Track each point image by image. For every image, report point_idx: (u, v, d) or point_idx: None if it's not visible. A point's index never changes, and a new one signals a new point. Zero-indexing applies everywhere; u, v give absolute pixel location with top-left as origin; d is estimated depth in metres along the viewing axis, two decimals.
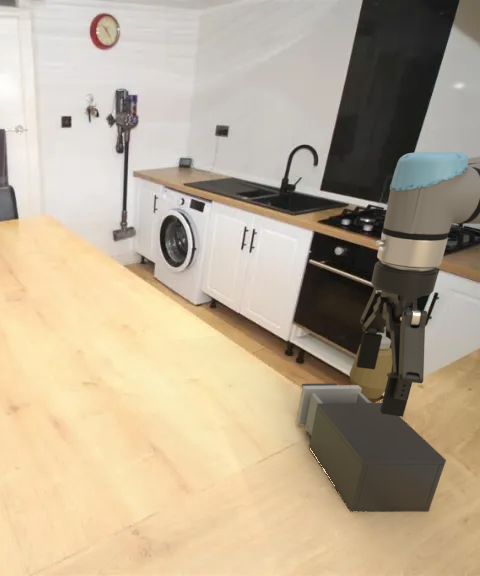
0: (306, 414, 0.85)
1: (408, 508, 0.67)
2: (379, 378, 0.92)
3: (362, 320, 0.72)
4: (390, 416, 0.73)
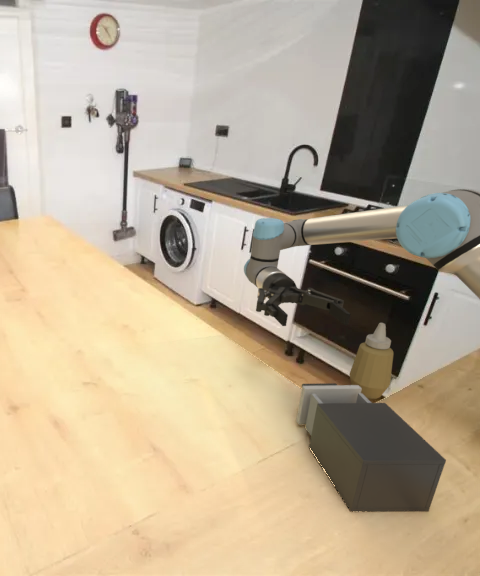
0: (306, 414, 0.85)
1: (408, 508, 0.67)
2: (379, 378, 0.92)
3: None
4: (390, 416, 0.73)
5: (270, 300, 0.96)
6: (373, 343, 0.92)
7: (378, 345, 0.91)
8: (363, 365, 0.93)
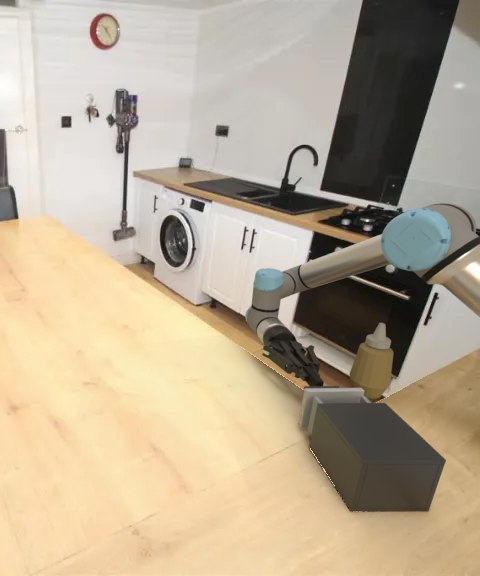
0: (308, 417, 0.84)
1: (408, 508, 0.67)
2: (379, 378, 0.92)
3: None
4: (390, 416, 0.73)
5: (296, 361, 0.96)
6: (373, 343, 0.92)
7: (378, 345, 0.91)
8: (363, 365, 0.93)
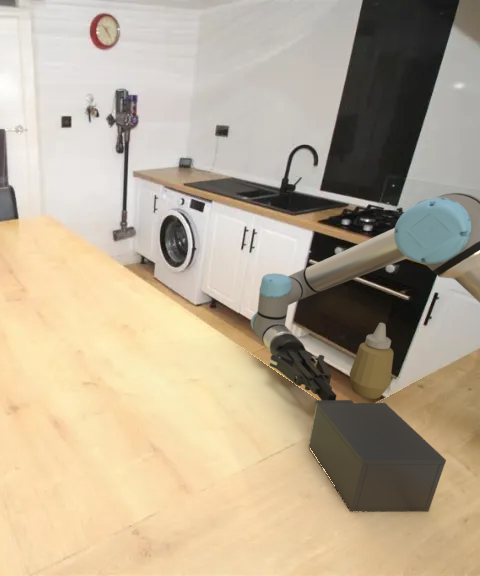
0: None
1: (408, 508, 0.67)
2: (379, 378, 0.92)
3: None
4: (390, 416, 0.73)
5: (305, 372, 0.91)
6: (373, 343, 0.92)
7: (378, 345, 0.91)
8: (363, 365, 0.93)
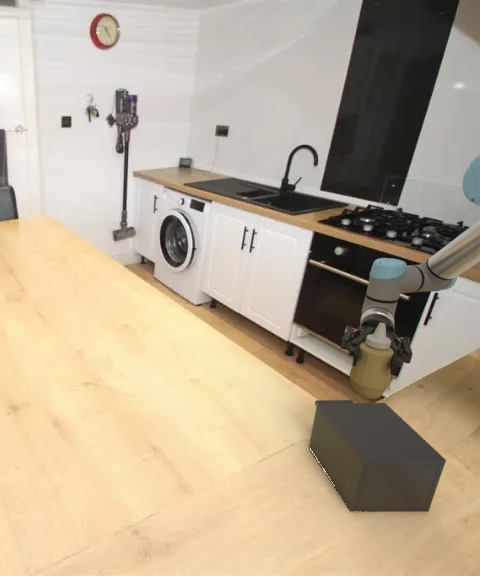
0: None
1: (408, 508, 0.67)
2: (379, 378, 0.92)
3: None
4: (390, 416, 0.73)
5: (356, 340, 0.99)
6: (373, 343, 0.92)
7: (378, 345, 0.91)
8: (363, 365, 0.93)
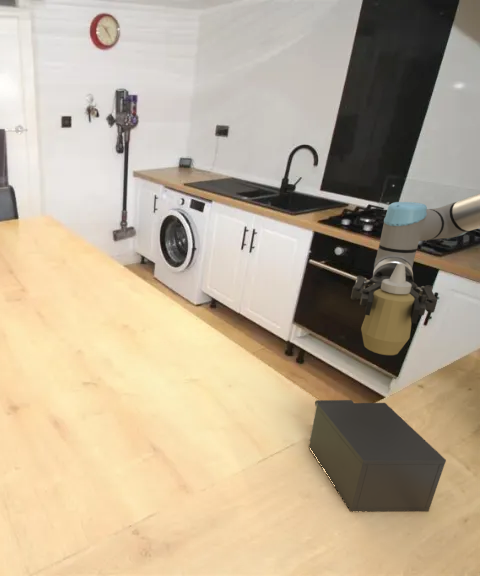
0: None
1: (408, 508, 0.67)
2: (397, 329, 0.77)
3: None
4: (390, 416, 0.73)
5: (369, 288, 0.84)
6: (390, 287, 0.77)
7: (396, 289, 0.77)
8: (378, 315, 0.79)
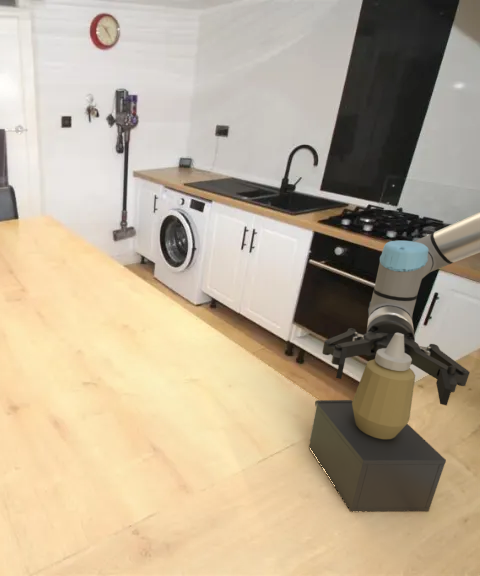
0: None
1: (408, 508, 0.67)
2: (394, 412, 0.64)
3: None
4: None
5: (345, 344, 0.74)
6: (386, 362, 0.64)
7: (393, 365, 0.64)
8: (371, 393, 0.66)
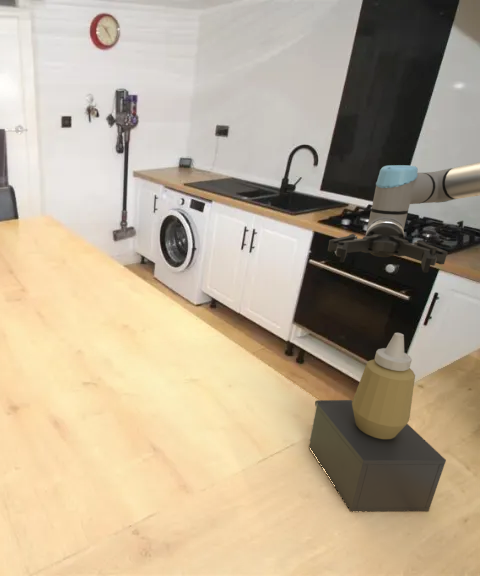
0: None
1: (408, 508, 0.67)
2: (394, 412, 0.64)
3: (437, 262, 0.81)
4: None
5: (347, 241, 0.89)
6: (386, 362, 0.64)
7: (393, 365, 0.64)
8: (371, 393, 0.66)
